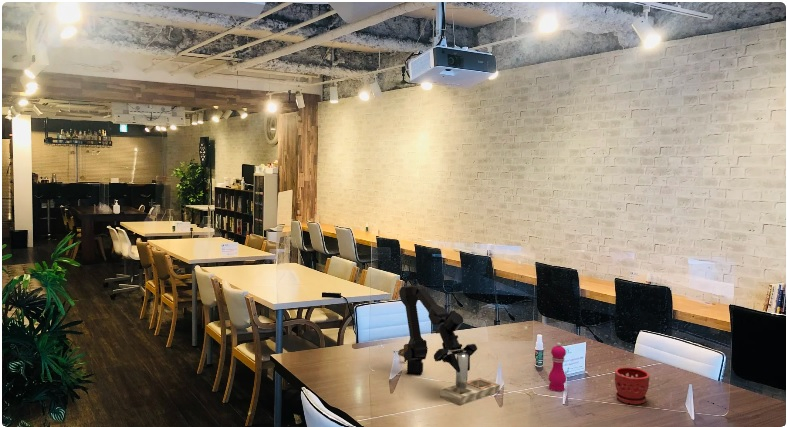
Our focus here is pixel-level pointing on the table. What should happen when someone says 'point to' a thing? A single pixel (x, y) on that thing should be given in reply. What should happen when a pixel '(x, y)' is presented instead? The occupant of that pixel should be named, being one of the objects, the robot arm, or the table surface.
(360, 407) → the table surface
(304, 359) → the table surface
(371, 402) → the table surface
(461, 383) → the silver metal cylinder
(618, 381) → the plant pot
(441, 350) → the robot arm
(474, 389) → the socket board
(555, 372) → the pepper mill
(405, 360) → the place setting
